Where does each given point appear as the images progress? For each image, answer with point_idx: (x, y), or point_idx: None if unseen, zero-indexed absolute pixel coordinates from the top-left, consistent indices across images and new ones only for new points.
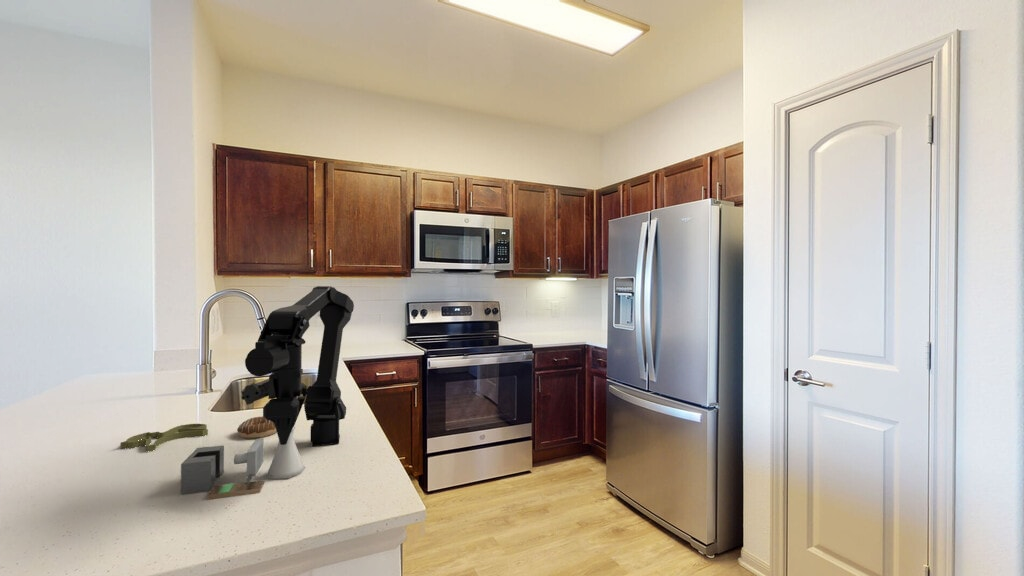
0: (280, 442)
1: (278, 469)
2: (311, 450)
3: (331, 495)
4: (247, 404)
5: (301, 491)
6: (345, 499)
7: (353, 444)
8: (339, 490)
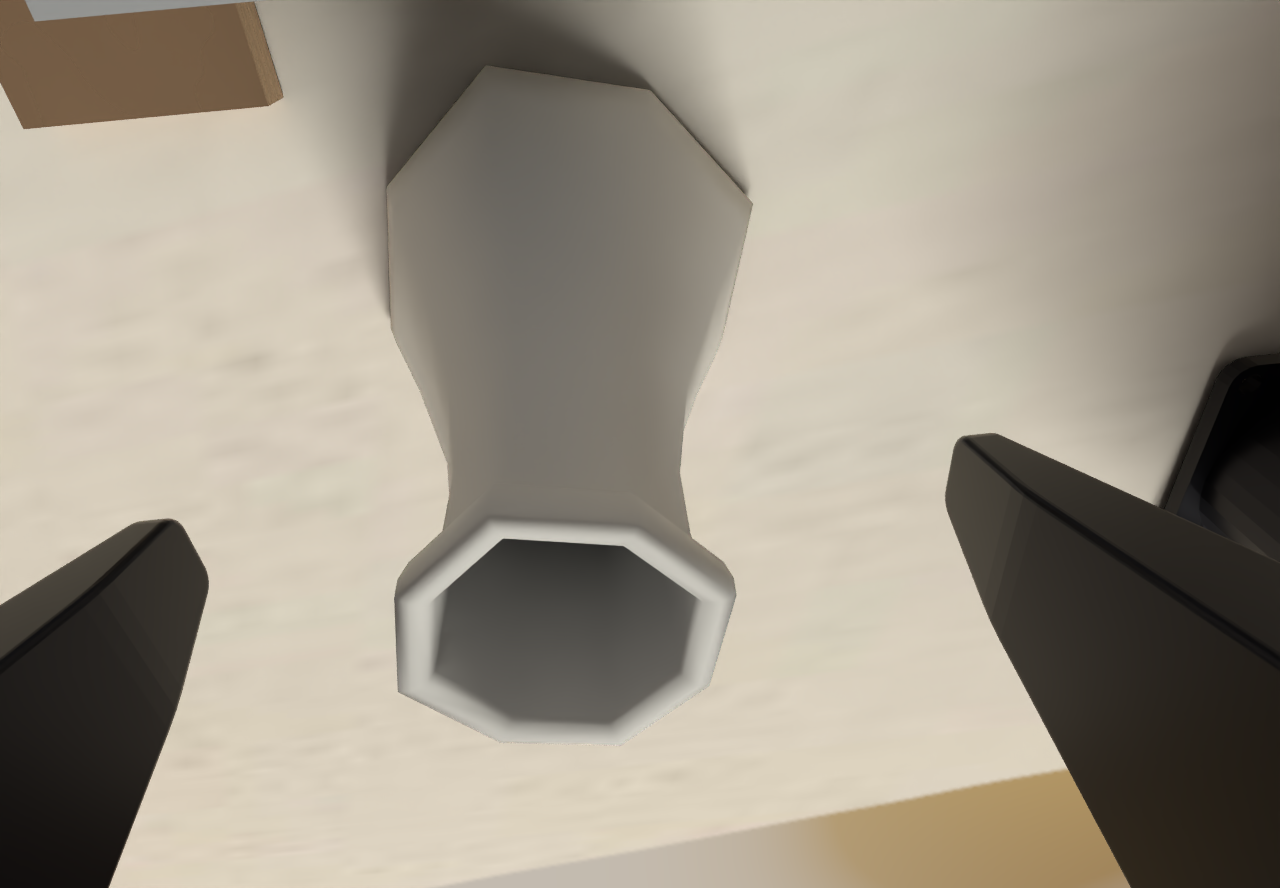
0: (99, 554)
1: (401, 257)
2: (1121, 370)
3: None
4: None
5: (129, 485)
6: None
7: None
8: None
